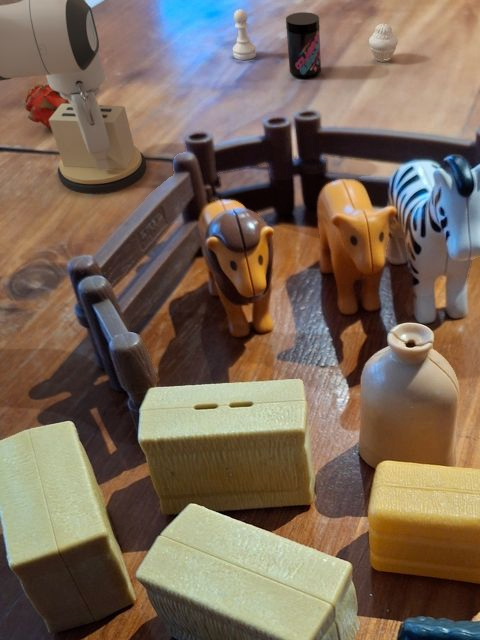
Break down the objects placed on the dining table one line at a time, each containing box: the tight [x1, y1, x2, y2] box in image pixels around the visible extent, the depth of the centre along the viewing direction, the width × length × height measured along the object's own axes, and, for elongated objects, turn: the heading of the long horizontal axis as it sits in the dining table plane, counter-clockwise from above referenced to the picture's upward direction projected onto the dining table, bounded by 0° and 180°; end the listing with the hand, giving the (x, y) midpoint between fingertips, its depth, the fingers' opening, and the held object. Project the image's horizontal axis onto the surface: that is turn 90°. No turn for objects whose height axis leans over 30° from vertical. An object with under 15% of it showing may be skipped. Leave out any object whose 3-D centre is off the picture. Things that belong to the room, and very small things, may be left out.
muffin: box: [368, 23, 398, 63], centre depth 155 cm, size 6×6×7 cm
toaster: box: [49, 104, 142, 184], centre depth 123 cm, size 14×14×9 cm
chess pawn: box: [232, 8, 257, 61], centre depth 156 cm, size 5×5×9 cm
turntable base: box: [57, 151, 147, 194], centre depth 127 cm, size 15×15×1 cm
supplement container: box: [285, 11, 322, 80], centre depth 149 cm, size 7×7×10 cm
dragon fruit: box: [23, 83, 69, 133], centre depth 136 cm, size 8×8×12 cm
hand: (98, 155), depth 125 cm, fingers open, 8 cm apart
